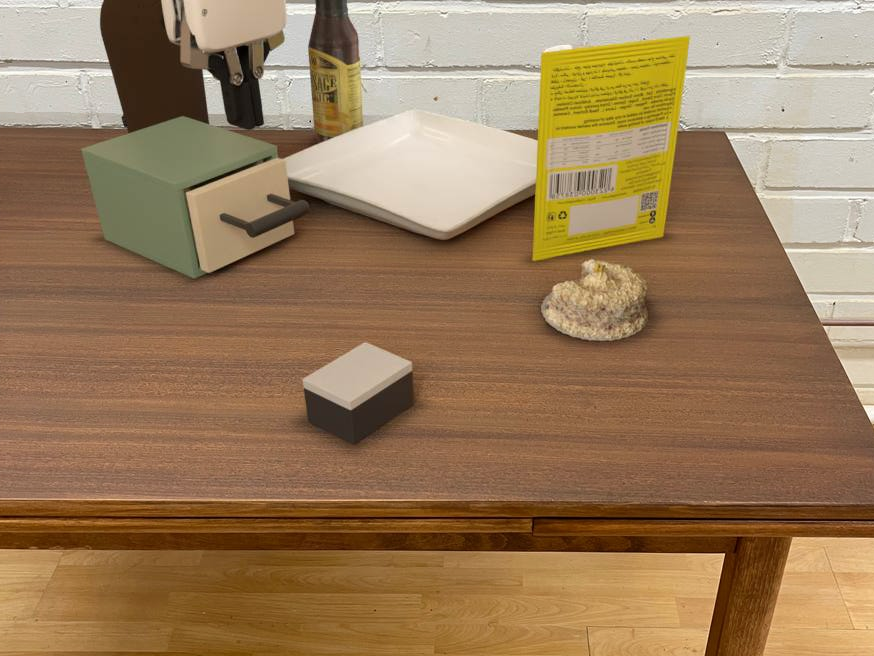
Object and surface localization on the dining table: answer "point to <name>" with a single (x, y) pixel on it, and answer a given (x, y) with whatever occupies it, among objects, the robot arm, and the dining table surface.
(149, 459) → the dining table surface
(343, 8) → the sauce bottle
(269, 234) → the drawer
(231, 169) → the cabinet
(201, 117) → the rounded brown slab
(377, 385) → the box
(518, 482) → the dining table surface
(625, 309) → the cake
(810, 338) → the dining table surface
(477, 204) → the square plate
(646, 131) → the food package
